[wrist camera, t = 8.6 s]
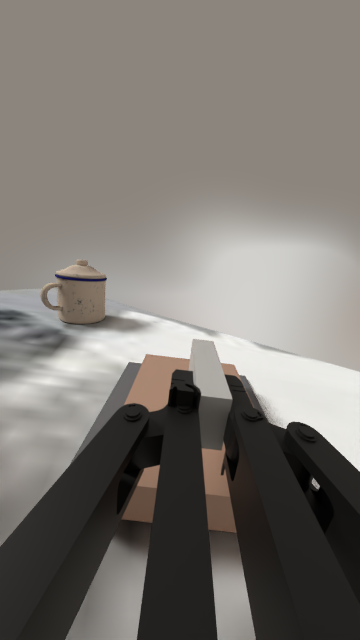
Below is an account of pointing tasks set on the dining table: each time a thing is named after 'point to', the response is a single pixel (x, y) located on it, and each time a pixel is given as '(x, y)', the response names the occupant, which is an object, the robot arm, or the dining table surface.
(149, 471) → the tile
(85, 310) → the teacup with lid
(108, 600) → the dining table surface
